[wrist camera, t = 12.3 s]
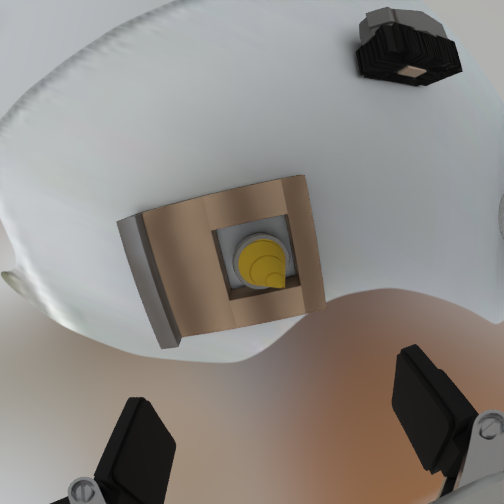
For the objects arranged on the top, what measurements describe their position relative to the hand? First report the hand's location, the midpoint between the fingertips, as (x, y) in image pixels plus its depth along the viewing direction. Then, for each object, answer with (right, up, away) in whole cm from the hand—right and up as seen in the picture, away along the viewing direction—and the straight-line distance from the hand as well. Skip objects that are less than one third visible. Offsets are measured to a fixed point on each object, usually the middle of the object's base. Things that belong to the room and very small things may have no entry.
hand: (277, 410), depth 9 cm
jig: (-3, +5, +21) cm, 22 cm away
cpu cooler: (+15, +28, +16) cm, 35 cm away
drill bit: (-1, +6, +21) cm, 22 cm away
